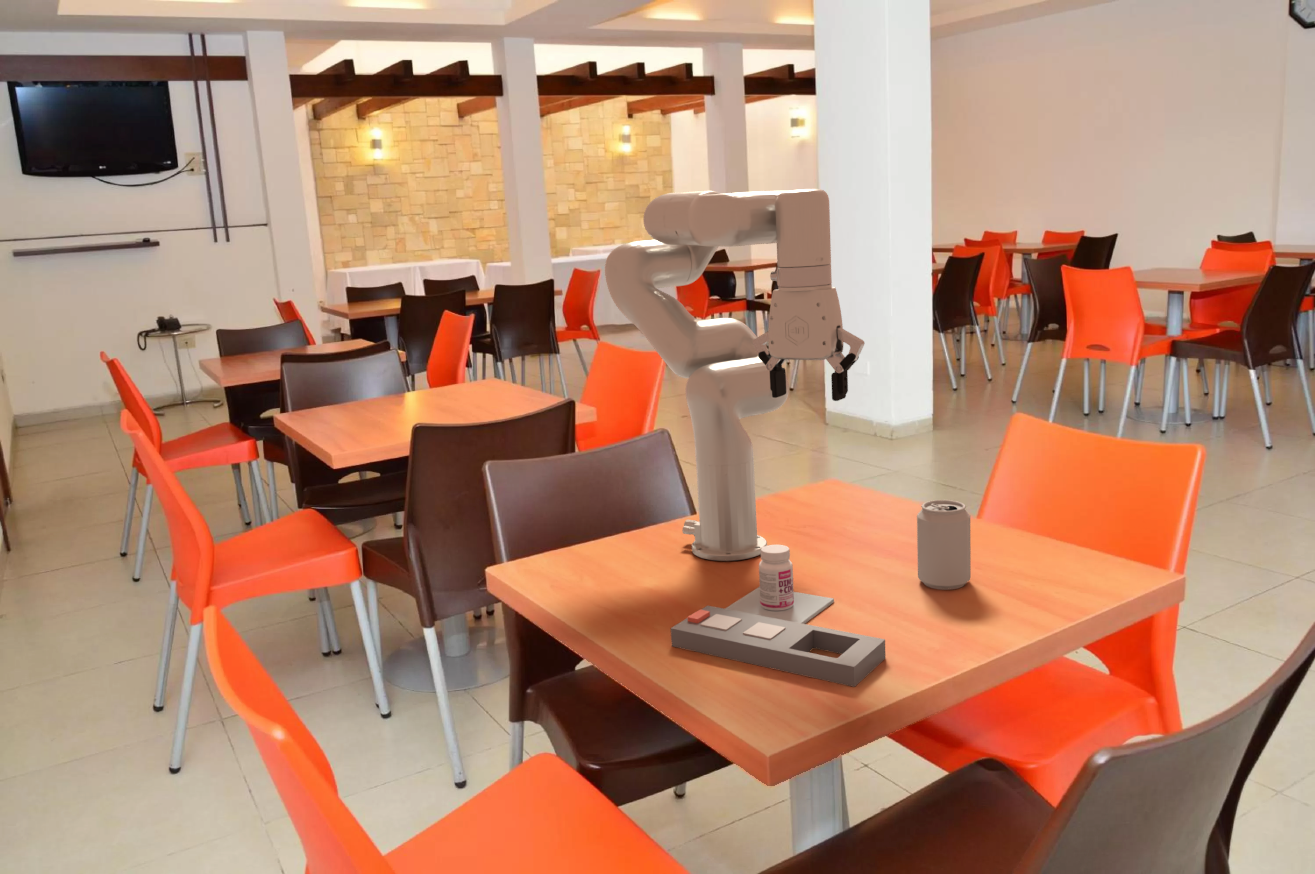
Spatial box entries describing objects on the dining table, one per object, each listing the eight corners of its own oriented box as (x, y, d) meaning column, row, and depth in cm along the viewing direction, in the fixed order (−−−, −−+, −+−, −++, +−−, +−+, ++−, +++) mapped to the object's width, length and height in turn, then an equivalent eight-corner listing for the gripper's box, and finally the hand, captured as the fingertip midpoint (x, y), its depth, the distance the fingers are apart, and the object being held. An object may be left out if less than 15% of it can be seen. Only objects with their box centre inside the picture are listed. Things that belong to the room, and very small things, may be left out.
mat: (718, 616, 145) (717, 613, 145) (760, 589, 155) (760, 585, 155) (794, 631, 138) (794, 627, 138) (834, 601, 148) (833, 598, 148)
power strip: (671, 646, 136) (670, 623, 136) (708, 622, 143) (707, 601, 143) (854, 686, 121) (853, 662, 121) (885, 658, 128) (885, 634, 128)
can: (972, 591, 148) (972, 511, 146) (918, 591, 150) (917, 511, 147) (968, 574, 155) (968, 497, 153) (916, 573, 157) (915, 497, 155)
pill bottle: (785, 613, 143) (782, 555, 142) (754, 608, 146) (751, 551, 144) (799, 602, 147) (797, 545, 145) (769, 597, 150) (767, 541, 148)
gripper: (738, 282, 149) (744, 399, 152) (849, 279, 139) (852, 405, 142) (764, 278, 155) (769, 390, 158) (872, 275, 145) (875, 396, 148)
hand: (808, 397), depth 150 cm, fingers open, 9 cm apart
